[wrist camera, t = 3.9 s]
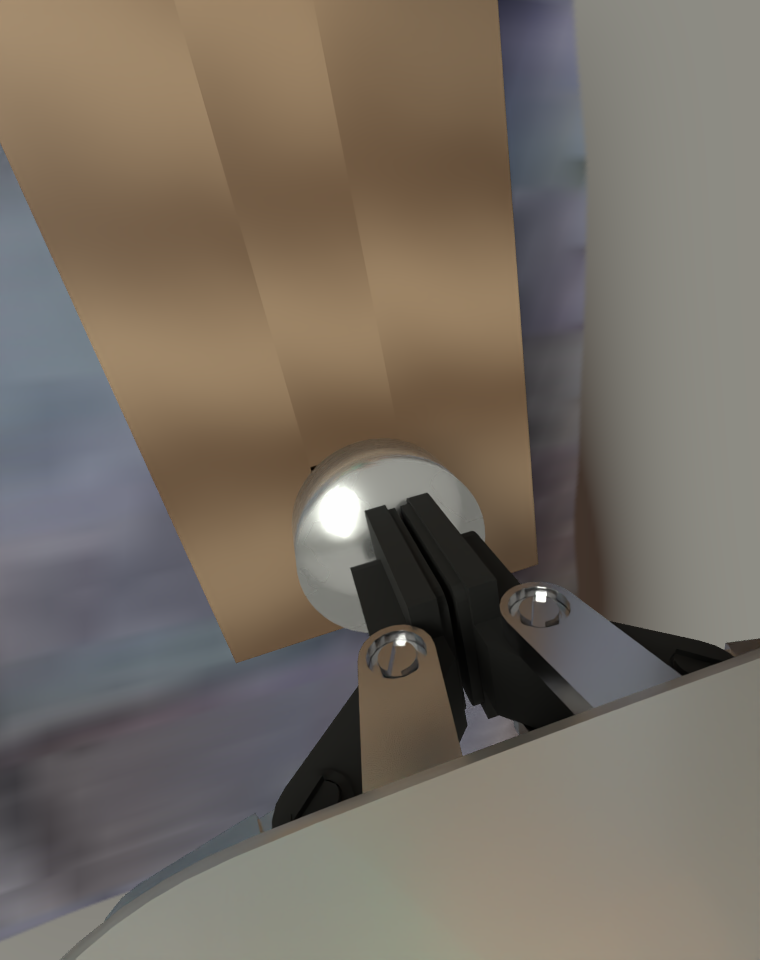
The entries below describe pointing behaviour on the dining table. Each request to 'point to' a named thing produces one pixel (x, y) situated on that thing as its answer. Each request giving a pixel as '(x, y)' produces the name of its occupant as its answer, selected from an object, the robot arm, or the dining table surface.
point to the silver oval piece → (341, 516)
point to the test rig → (281, 255)
